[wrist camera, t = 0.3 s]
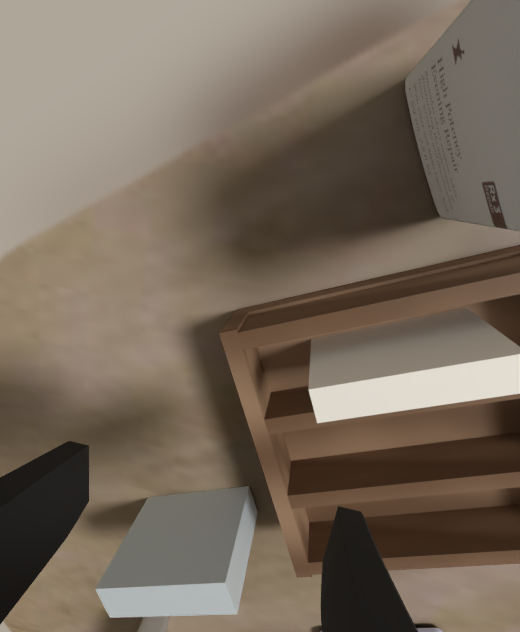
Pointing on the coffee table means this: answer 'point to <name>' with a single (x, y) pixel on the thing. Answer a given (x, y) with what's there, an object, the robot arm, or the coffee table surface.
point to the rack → (385, 425)
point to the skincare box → (472, 115)
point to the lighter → (154, 624)
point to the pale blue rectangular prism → (182, 556)
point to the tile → (411, 366)
